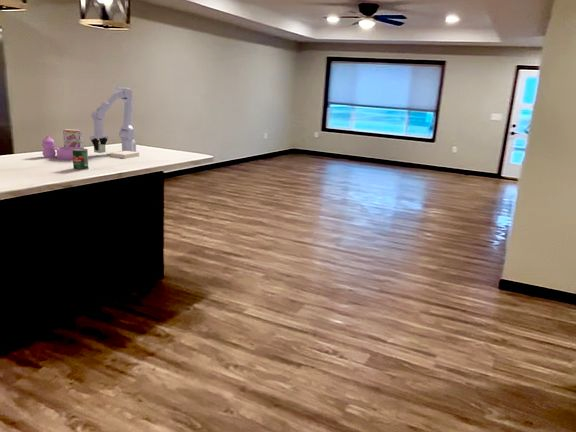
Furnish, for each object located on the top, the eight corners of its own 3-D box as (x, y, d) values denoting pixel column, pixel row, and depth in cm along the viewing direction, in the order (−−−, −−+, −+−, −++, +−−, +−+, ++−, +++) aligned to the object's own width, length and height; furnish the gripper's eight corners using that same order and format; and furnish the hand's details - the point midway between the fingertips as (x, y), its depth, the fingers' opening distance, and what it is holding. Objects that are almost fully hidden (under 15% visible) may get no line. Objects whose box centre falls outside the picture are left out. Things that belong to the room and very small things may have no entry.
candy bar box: (64, 155, 322) (62, 129, 318) (68, 154, 327) (66, 128, 323) (80, 156, 321) (79, 130, 317) (84, 155, 326) (83, 130, 322)
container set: (87, 157, 318) (86, 137, 315) (76, 161, 304) (75, 139, 300) (50, 155, 320) (48, 134, 316) (36, 158, 305) (35, 137, 302)
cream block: (125, 155, 339) (125, 150, 339) (139, 156, 335) (139, 152, 334) (110, 157, 327) (110, 152, 326) (124, 159, 322) (124, 154, 322)
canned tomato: (72, 169, 276) (71, 150, 273) (74, 167, 283) (73, 148, 280) (87, 170, 278) (86, 150, 275) (89, 167, 285) (88, 148, 282)
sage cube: (99, 151, 331) (99, 143, 330) (105, 152, 330) (105, 144, 328) (94, 152, 327) (93, 144, 326) (100, 153, 325) (99, 145, 324)
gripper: (102, 127, 332) (103, 148, 336) (85, 129, 319) (86, 150, 323) (110, 128, 330) (111, 149, 333) (94, 130, 317) (95, 151, 320)
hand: (99, 149), depth 328 cm, fingers closed on sage cube, 5 cm apart
